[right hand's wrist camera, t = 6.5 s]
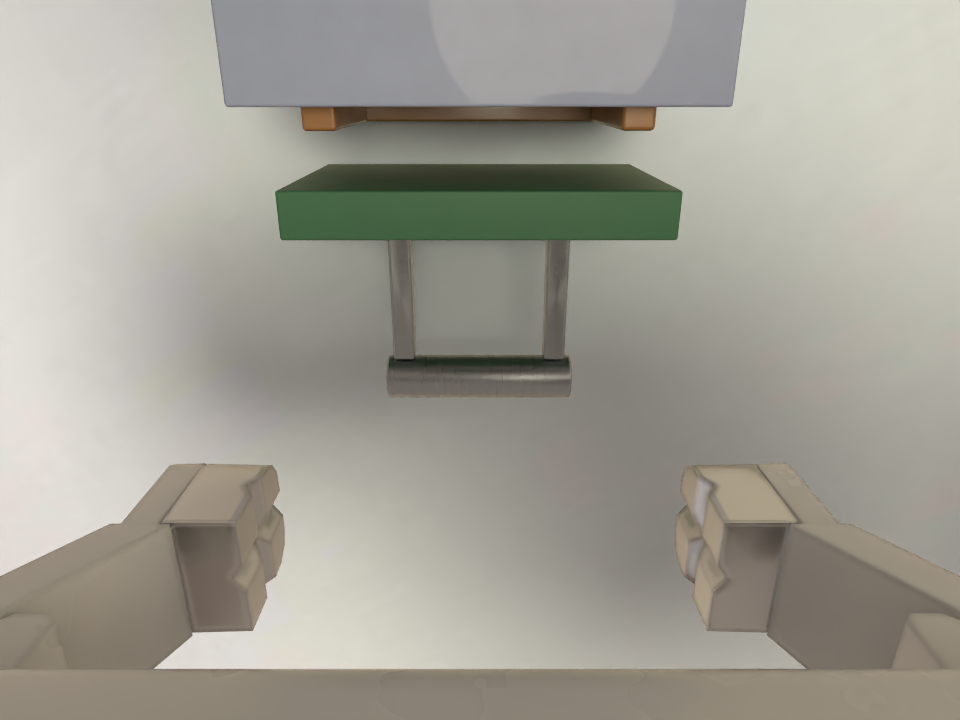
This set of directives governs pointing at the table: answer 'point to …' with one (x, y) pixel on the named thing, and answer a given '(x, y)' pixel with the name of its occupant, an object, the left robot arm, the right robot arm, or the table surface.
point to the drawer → (478, 230)
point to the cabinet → (478, 53)
